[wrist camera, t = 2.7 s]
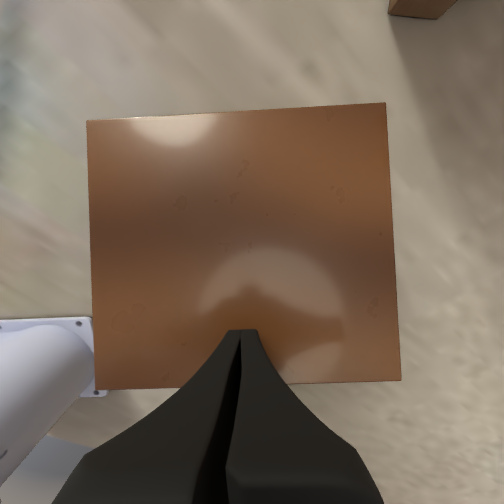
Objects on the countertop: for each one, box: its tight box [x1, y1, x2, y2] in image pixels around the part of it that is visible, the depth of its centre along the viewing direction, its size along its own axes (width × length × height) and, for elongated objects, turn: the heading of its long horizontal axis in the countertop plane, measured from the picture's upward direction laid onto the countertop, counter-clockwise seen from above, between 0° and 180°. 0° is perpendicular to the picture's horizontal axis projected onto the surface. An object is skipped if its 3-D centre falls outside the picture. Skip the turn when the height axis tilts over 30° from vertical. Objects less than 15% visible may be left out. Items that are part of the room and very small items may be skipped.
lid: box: [86, 102, 401, 390], centre depth 12 cm, size 13×15×1 cm
